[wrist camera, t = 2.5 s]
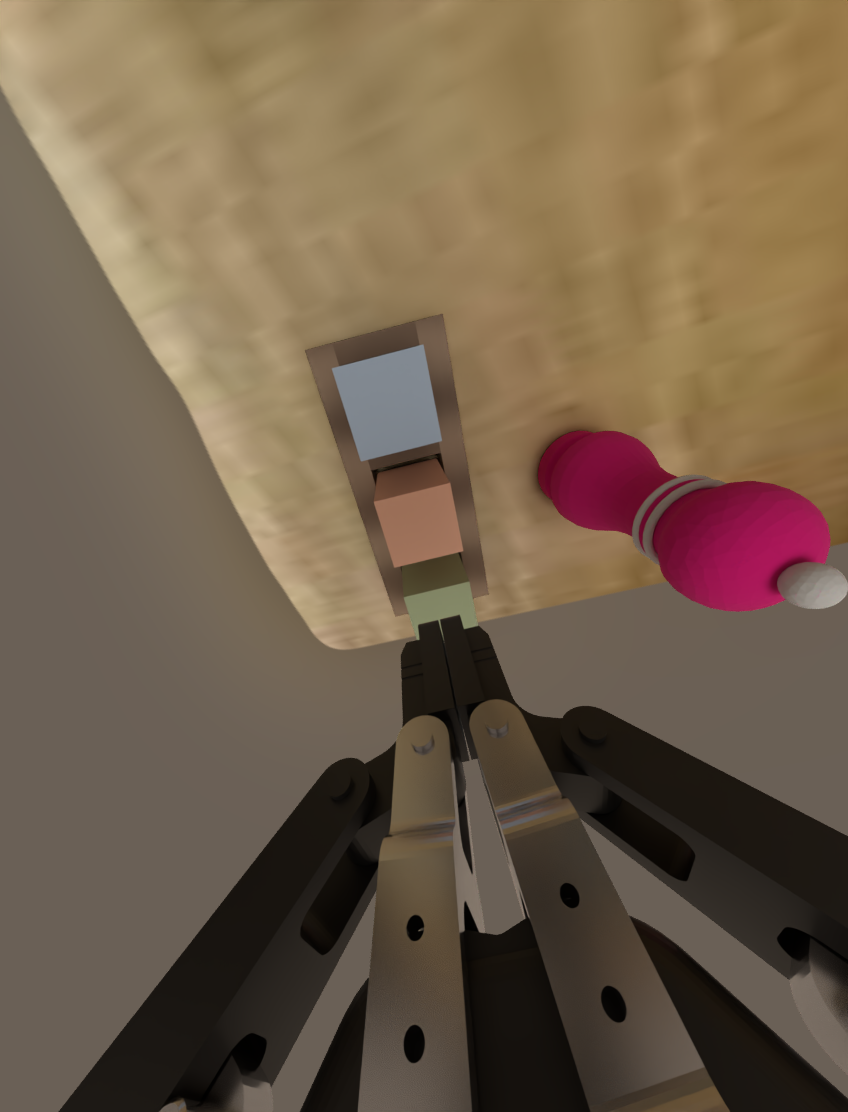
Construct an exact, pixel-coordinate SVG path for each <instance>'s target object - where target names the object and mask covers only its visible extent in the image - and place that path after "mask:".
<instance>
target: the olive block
mask: <svg viewBox="0 0 848 1112" xmlns="http://www.w3.org/2000/svg"><path fill="white" fill-rule="evenodd" d="M402 578H403V595H404V600H405V603H406V607H407V610H408V613H409V616H410V619H411V622H412V626H413V629H414V632H415V635H416V638H417V640H419V631H418V624H422V623H427V622H431V621H435V620H438V621H439V624H440V628H441V623H440V619H443V618H447V617H452V616H456V615H460V617H461V620H462V624H463V627H464V629H466V628H471V627H475V626H478V624H477V618H476V613H475V608H474V603H473V598H472V593H471V587H470V582H469V579H468V577H467V574H466V572H465V569H464V566H463V564H462V561H461V559H460V556H459V553H454V554H449V555H445V556H441V557H437V558H433V559H429V560H425V561H421V562H417V563H412V564H408V565H404V566H402ZM441 632H442V628H441ZM442 636H443V633H442ZM443 640H444V638H443Z"/></svg>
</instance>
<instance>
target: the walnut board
mask: <svg viewBox="0 0 848 1112" xmlns="http://www.w3.org/2000/svg"><path fill="white" fill-rule="evenodd" d="M419 345H424V350H425V355H426V360H427V365H428V371H429V376H430V381H431V386H432V391H433V396H434V402H435V407H436V412H437V417H438V422H439V427H440V433H441V438H442V441H440V442H436V443H432V444H428V445H424V446H420V447H416V448H412V449H408V450H404V451H401V452H397V453H393V454H389V455H385V456H381V457H377V458H373V459H369V460H365V461H361V460H360V457H359V454H358V450H357V447H356V444H355V441H354V438H353V435H352V431H351V428H350V425H349V422H348V419H347V415H346V412H345V409H344V406H343V403H342V400H341V396H340V393H339V390H338V387H337V384H336V380H335V377H334V374H333V371H332V368H335V367H339V366H343V365H347V364H351V363H354V362H358V361H362V360H366V359H370V358H373V357H377V356H381V355H385V354H389V353H392V352H396V351H400V350H404V349H408V348H412V347H415V346H419ZM305 352H306V355H307V358H308V361H309V364H310V367H311V370H312V372H313V375H314V378H315V381H316V384H317V387H318V390H319V393H320V396H321V399H322V402H323V405H324V408H325V411H326V414H327V417H328V420H329V423H330V425H331V428H332V431H333V434H334V437H335V440H336V443H337V446H338V449H339V452H340V455H341V458H342V461H343V464H344V467H345V470H346V473H347V475H348V478H349V481H350V484H351V487H352V490H353V493H354V496H355V499H356V502H357V505H358V508H359V511H360V514H361V517H362V520H363V523H364V526H365V528H366V531H367V534H368V537H369V540H370V543H371V546H372V549H373V552H374V555H375V558H376V561H377V564H378V567H379V570H380V573H381V576H382V578H383V581H384V584H385V587H386V590H387V593H388V596H389V599H390V602H391V605H392V608H393V611H394V614H395V617H396V616H400V615H404V614H409V613H408V610H407V607H406V603H405V600H404V595H403V578H402V566H400V567H396V568H394V565H393V562H392V559H391V556H390V552H389V549H388V546H387V543H386V540H385V536H384V533H383V530H382V527H381V524H380V521H379V517H378V514H377V511H376V508H375V505H374V496H375V489H376V482H377V474H376V471H375V469H379V468H382V467H386V466H390V465H394V464H398V463H402V462H406V461H410V460H414V459H418V458H422V457H426V456H430V455H434V454H438V457H439V462H440V466H441V468H442V469H443V471H444V473H445V475H446V476H447V478H448V480H449V482H450V484H451V489H452V495H453V500H454V505H455V510H456V515H457V520H458V526H459V531H460V536H461V541H462V546H463V551H462V552H458V553H459V556H460V559H461V561H462V564H463V566H464V569H465V572H466V574H467V577H468V579H469V582H470V587H471V593H472V598H476V597H480V596H484V595H488V594H489V593H488V587H487V581H486V574H485V568H484V562H483V556H482V550H481V544H480V538H479V532H478V526H477V520H476V514H475V507H474V501H473V495H472V489H471V483H470V477H469V471H468V465H467V459H466V453H465V447H464V440H463V434H462V428H461V422H460V416H459V410H458V404H457V398H456V392H455V386H454V380H453V373H452V367H451V361H450V355H449V349H448V343H447V337H446V331H445V325H444V319H443V314H440V315H436V316H432V317H428V318H425V319H421V320H417V321H413V322H410V323H406V324H402V325H398V326H394V327H391V328H387V329H383V330H379V331H375V332H372V333H368V334H364V335H360V336H357V337H353V338H349V339H345V340H341V341H338V342H334V343H330V344H326V345H323V346H319V347H315V348H311V349H307V350H305Z"/></svg>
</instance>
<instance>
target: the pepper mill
mask: <svg viewBox="0 0 848 1112" xmlns="http://www.w3.org/2000/svg"><path fill="white" fill-rule="evenodd" d="M538 480H539V484H540V487H541V489H542V491H543V492H544V494H545V495H546V496H547V497H549V498H550V499H551V500H552V501H553V503H554V505H555V507H556V509H557V510H558V512H559V513H560V514H561V515H562V516H563V517H564V518H566V519H567V520H569V521H571V522H573V523H574V524H576V525H578V526H581V527H584V528H588V529H592V530H605V531H619V532H622V533H626V534H628V535H630V536H632V537H633V542H634V544H635V546H636V548H637V549H638V550H639V551H640V552H641V553H642V554H643V555H645V556H646V557H648V558H650V559H651V560H652V561H653V562H654V563H656V564H658V565H660V568H661V572H662V573H663V575H664V577H665V578H666V580H667V581H668V582H669V583H670V584H671V585H672V587H673V588H674V589H676V590H677V591H678V592H680V593H681V594H683V595H684V596H686V597H687V598H689V599H690V600H692V601H695V602H697V603H699V604H702V605H704V606H707V607H709V608H713V609H719V610H724V611H738V612H739V611H752V610H757V609H761V608H765V607H768V606H772V605H775V604H777V603H779V602H781V601H784V600H787V601H789V602H790V603H792V604H794V605H796V606H799V607H803V608H809V609H822V608H826V607H830V606H833V605H835V604H837V603H838V602H840V601H841V600H842V599H843V598H844V597H845V596H846V594H847V591H848V583H847V580H846V578H845V577H844V576H843V574H842V573H841V572H840V571H838V570H837V569H835V568H834V567H831V566H829V565H827V564H825V561H826V559H827V556H828V552H829V548H830V534H829V528H828V524H827V522H826V520H825V518H824V517H823V515H822V513H821V512H820V510H819V509H818V508H817V507H816V506H815V505H814V504H813V503H811V502H810V501H809V500H808V499H806V498H804V497H803V496H801V495H799V494H798V493H796V492H794V491H792V490H790V489H787V488H784V487H781V486H777V485H774V484H770V483H763V482H756V481H744V482H734V483H728V484H727V483H724V482H722V481H720V480H714V479H711V478H709V477H706V476H702V475H686V476H681V477H676V476H674V475H672V474H670V473H667V472H666V471H665V470H663V469H662V468H661V467H660V466H659V464H658V462H657V460H656V458H655V456H654V455H653V454H652V452H651V451H650V450H649V448H647V447H646V446H645V445H644V444H643V443H642V442H640V441H639V440H638V439H636V438H634V437H631V436H629V435H626V434H624V433H621V432H616V431H602V432H596V433H592V432H588V431H574V432H570V433H568V434H565V435H563V436H562V437H560V438H558V439H557V440H556V441H555V442H553V443H552V444H551V445H550V446H549V448H548V449H547V450H546V452H545V453H544V455H543V457H542V459H541V461H540V464H539V469H538Z"/></svg>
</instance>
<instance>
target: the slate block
mask: <svg viewBox="0 0 848 1112" xmlns="http://www.w3.org/2000/svg"><path fill="white" fill-rule="evenodd" d="M332 371H333V374H334V377H335V380H336V384H337V387H338V390H339V393H340V396H341V400H342V403H343V406H344V409H345V412H346V415H347V419H348V422H349V425H350V428H351V431H352V435H353V438H354V441H355V444H356V447H357V450H358V454H359V457H360V460H361V461H365V460H369V459H373V458H377V457H381V456H385V455H389V454H393V453H397V452H401V451H404V450H408V449H412V448H416V447H420V446H424V445H428V444H432V443H436V442H440V441H442V438H441V433H440V427H439V422H438V417H437V412H436V407H435V402H434V396H433V391H432V386H431V381H430V376H429V371H428V365H427V360H426V355H425V350H424V345H419V346H415V347H412V348H408V349H404V350H400V351H396V352H392V353H389V354H385V355H381V356H377V357H373V358H370V359H366V360H362V361H358V362H354V363H351V364H347V365H343V366H339V367H335V368H332Z"/></svg>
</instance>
